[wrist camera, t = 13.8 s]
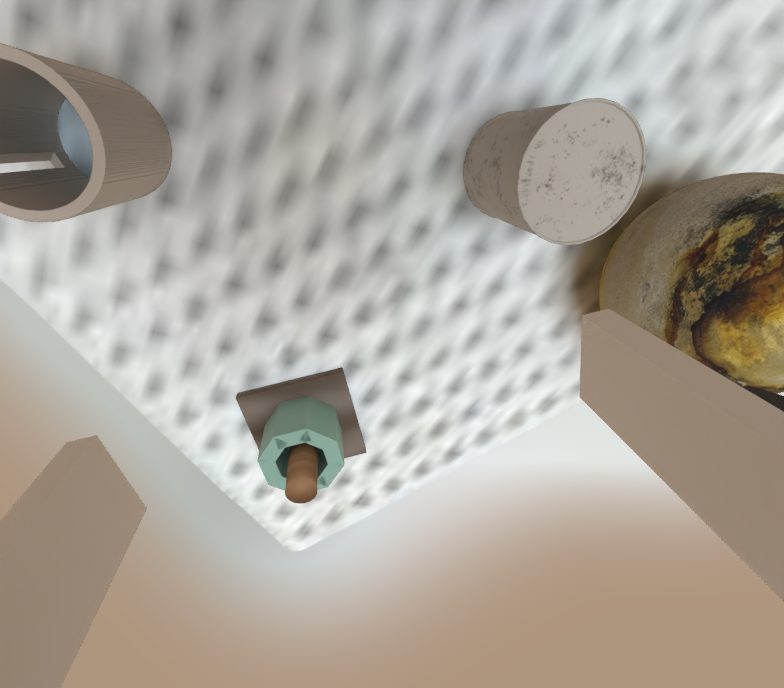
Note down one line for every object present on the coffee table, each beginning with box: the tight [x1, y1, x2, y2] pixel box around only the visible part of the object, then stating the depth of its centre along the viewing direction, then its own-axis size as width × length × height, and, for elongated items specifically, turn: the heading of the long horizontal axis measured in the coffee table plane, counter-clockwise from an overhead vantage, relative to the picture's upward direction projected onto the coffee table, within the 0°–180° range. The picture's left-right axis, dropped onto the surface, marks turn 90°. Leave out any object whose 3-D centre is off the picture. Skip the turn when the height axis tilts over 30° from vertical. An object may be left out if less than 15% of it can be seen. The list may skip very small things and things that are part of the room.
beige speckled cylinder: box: [463, 98, 646, 245], centre depth 34 cm, size 10×10×12 cm
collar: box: [258, 396, 344, 490], centre depth 45 cm, size 8×8×6 cm
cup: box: [0, 44, 172, 222], centre depth 28 cm, size 9×9×12 cm
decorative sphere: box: [599, 173, 784, 394], centre depth 37 cm, size 20×20×20 cm
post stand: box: [236, 368, 366, 503], centre depth 44 cm, size 12×12×11 cm
